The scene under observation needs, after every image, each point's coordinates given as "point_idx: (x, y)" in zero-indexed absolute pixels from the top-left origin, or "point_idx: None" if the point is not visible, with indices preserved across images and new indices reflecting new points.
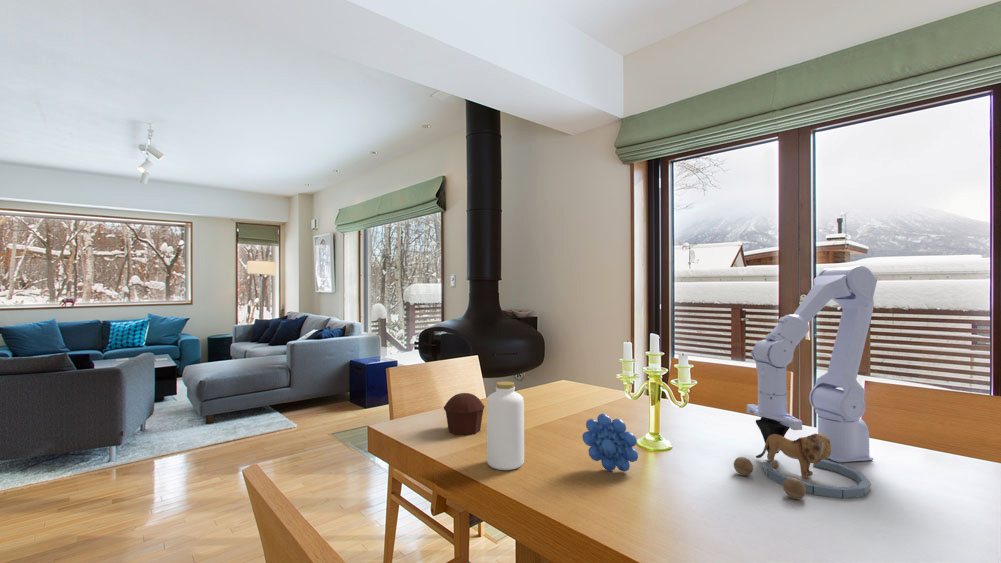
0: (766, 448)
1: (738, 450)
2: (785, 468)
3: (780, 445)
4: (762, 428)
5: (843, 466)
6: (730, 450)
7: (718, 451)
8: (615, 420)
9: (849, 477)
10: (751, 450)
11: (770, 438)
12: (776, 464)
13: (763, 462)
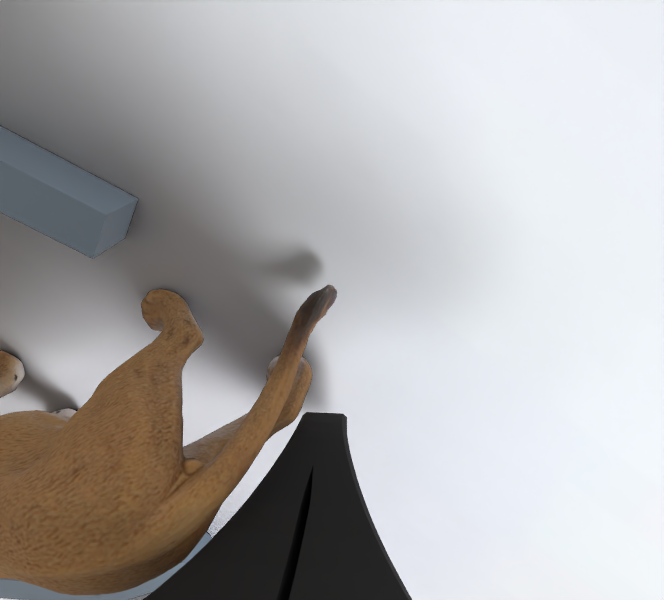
0: (260, 395)
1: (574, 290)
2: None
3: (24, 454)
4: (318, 596)
5: (67, 594)
6: (605, 217)
7: (638, 59)
8: None
9: None
10: (531, 388)
11: (103, 474)
12: (153, 323)
13: (97, 207)
